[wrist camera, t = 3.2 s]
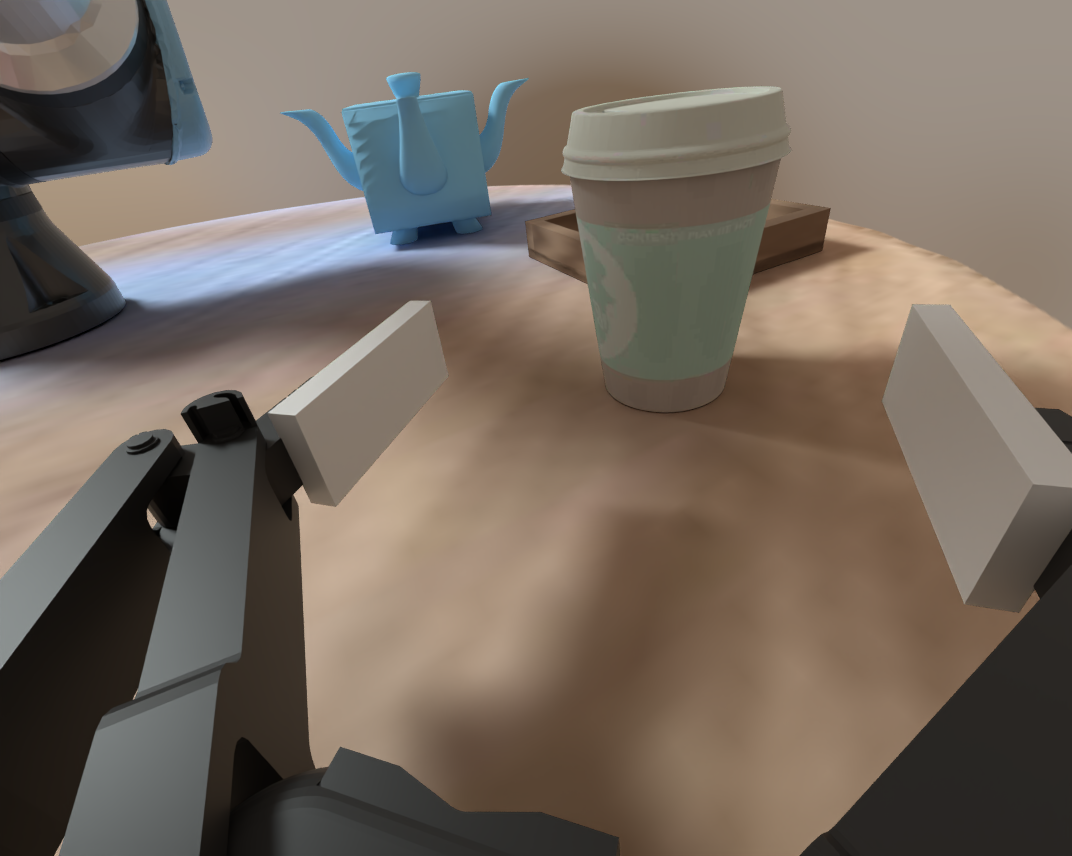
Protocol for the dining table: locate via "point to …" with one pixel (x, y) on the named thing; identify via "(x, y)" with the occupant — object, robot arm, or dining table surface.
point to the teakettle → (418, 155)
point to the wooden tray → (782, 241)
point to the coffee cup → (673, 232)
